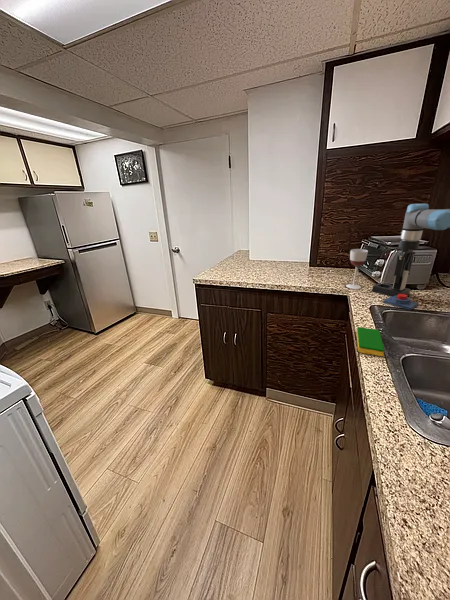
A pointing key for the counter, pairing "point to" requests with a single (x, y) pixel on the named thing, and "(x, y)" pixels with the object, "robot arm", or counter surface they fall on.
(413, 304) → the switchbox
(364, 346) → the dish sponge
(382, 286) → the adapter
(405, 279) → the block
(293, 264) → the counter surface
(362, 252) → the wineglass
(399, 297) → the switch
